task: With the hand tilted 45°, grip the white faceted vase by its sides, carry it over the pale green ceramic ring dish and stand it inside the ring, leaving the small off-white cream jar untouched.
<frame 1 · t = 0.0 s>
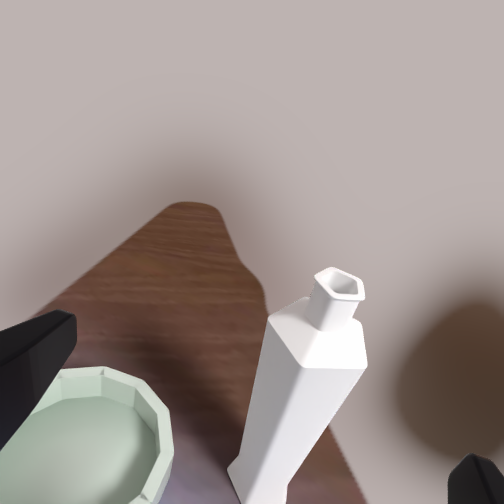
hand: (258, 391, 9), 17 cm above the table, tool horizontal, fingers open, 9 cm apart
ring dish: (76, 468, 22), on the table
white faceted vase: (257, 482, 24), on the table
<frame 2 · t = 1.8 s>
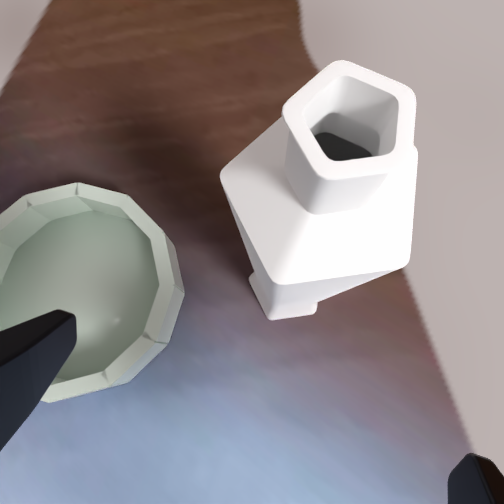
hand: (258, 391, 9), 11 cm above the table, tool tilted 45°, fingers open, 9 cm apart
ring dish: (86, 292, 21), on the table
white faceted vase: (284, 288, 21), on the table
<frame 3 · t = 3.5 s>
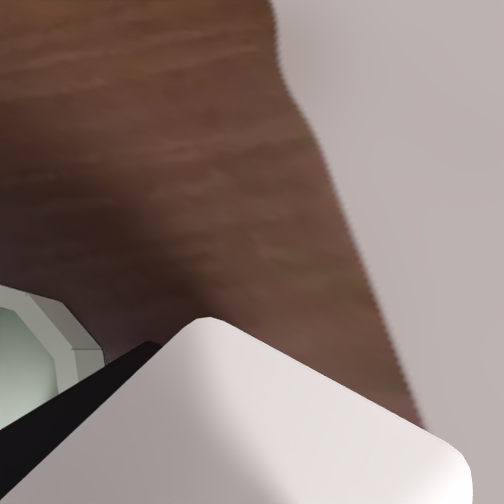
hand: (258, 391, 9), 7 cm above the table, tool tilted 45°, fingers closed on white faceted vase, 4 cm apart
white faceted vase: (248, 410, 15), on the table, touching gripper
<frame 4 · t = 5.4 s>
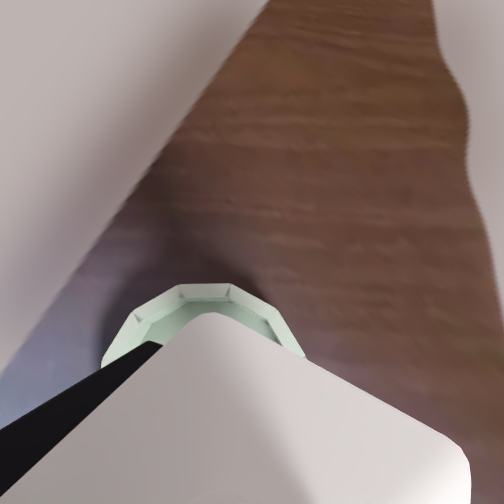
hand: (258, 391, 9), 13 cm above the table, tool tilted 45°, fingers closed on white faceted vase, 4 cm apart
ring dish: (209, 382, 21), on the table
white faceted vase: (250, 410, 15), point 6 cm above the table, touching gripper
when the fingers open (9 cm above the table, at t = 7.0 s): white faceted vase drops 1 cm, resting on ring dish.
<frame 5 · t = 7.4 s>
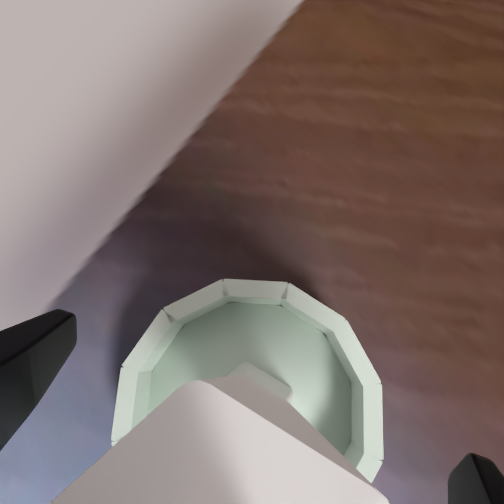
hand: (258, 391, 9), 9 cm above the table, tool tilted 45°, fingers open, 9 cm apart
ring dish: (249, 403, 17), on the table
white faceted vase: (246, 414, 17), resting on ring dish
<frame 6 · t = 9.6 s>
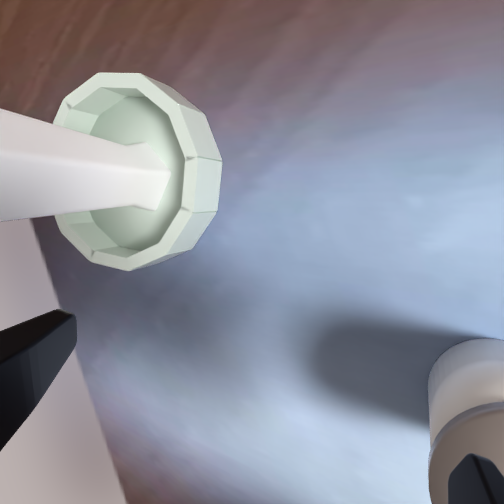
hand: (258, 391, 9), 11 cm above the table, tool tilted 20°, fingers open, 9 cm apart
cream jar: (490, 393, 17), on the table
ring dish: (144, 176, 23), on the table
white faceted vase: (144, 181, 23), resting on ring dish
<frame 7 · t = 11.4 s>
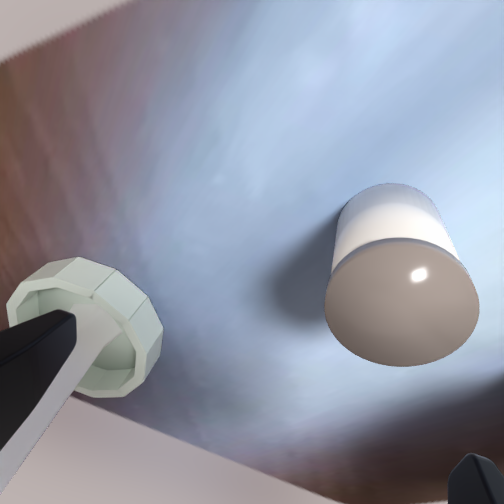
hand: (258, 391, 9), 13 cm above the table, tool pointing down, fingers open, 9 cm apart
cream jar: (387, 230, 20), on the table
ring dish: (97, 319, 28), on the table
white faceted vase: (99, 322, 28), resting on ring dish
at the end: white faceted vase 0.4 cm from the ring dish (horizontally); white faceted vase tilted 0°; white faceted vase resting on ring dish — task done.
